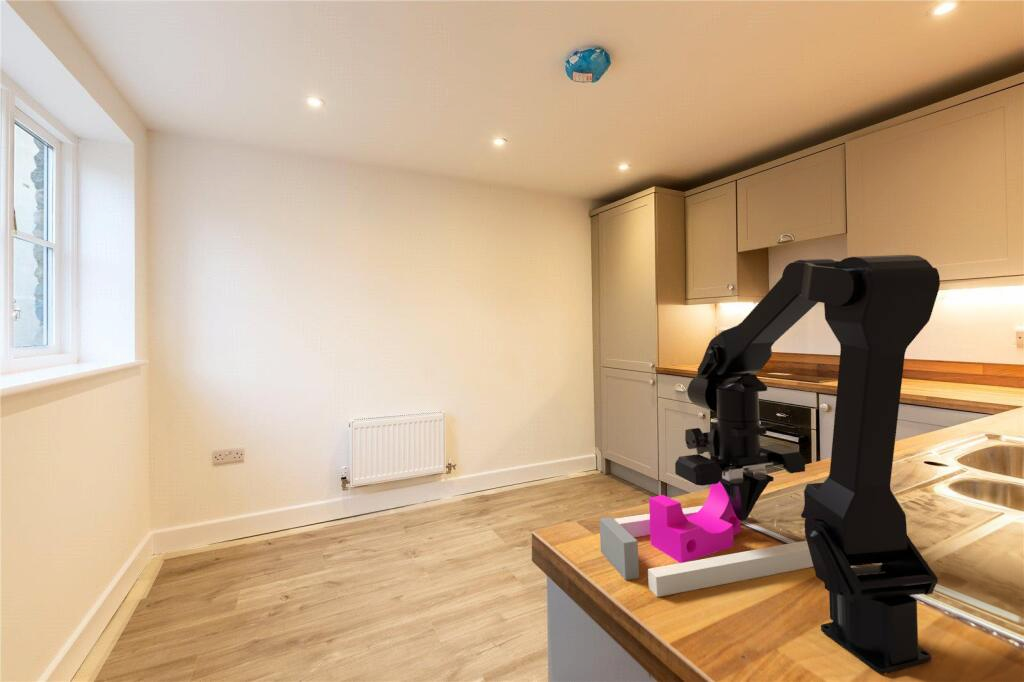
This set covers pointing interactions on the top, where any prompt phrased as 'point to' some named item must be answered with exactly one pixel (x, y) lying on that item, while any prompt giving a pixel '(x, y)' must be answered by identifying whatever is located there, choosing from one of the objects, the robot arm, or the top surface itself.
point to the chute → (696, 573)
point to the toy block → (693, 526)
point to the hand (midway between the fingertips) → (741, 519)
